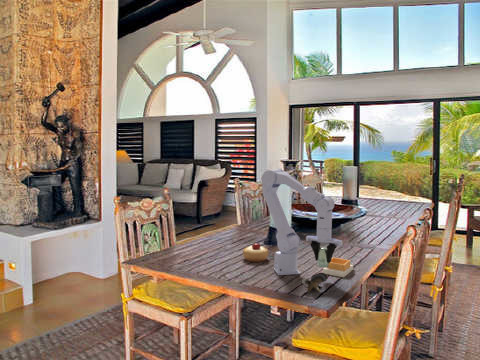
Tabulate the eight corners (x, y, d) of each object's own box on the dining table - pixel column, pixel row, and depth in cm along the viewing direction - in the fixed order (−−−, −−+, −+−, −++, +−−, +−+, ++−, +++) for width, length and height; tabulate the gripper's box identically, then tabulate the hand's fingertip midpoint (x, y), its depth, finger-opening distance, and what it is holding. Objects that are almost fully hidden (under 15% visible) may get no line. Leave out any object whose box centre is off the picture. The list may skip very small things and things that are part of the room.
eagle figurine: (322, 293, 143) (332, 282, 150) (311, 276, 144) (321, 265, 151) (306, 299, 148) (317, 288, 155) (296, 283, 149) (306, 272, 156)
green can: (319, 267, 158) (320, 250, 158) (315, 264, 163) (316, 247, 162) (330, 267, 159) (331, 249, 158) (326, 263, 163) (326, 247, 163)
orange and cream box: (343, 277, 164) (344, 266, 163) (322, 273, 168) (323, 262, 168) (353, 269, 174) (353, 259, 173) (332, 265, 178) (333, 255, 178)
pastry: (266, 265, 181) (266, 245, 180) (240, 262, 184) (240, 243, 182) (269, 256, 193) (270, 238, 192) (245, 254, 195) (245, 236, 194)
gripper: (345, 228, 159) (344, 261, 160) (311, 223, 167) (310, 255, 168) (339, 231, 153) (338, 266, 154) (304, 226, 161) (303, 259, 162)
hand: (323, 261), depth 161 cm, fingers closed on green can, 4 cm apart
